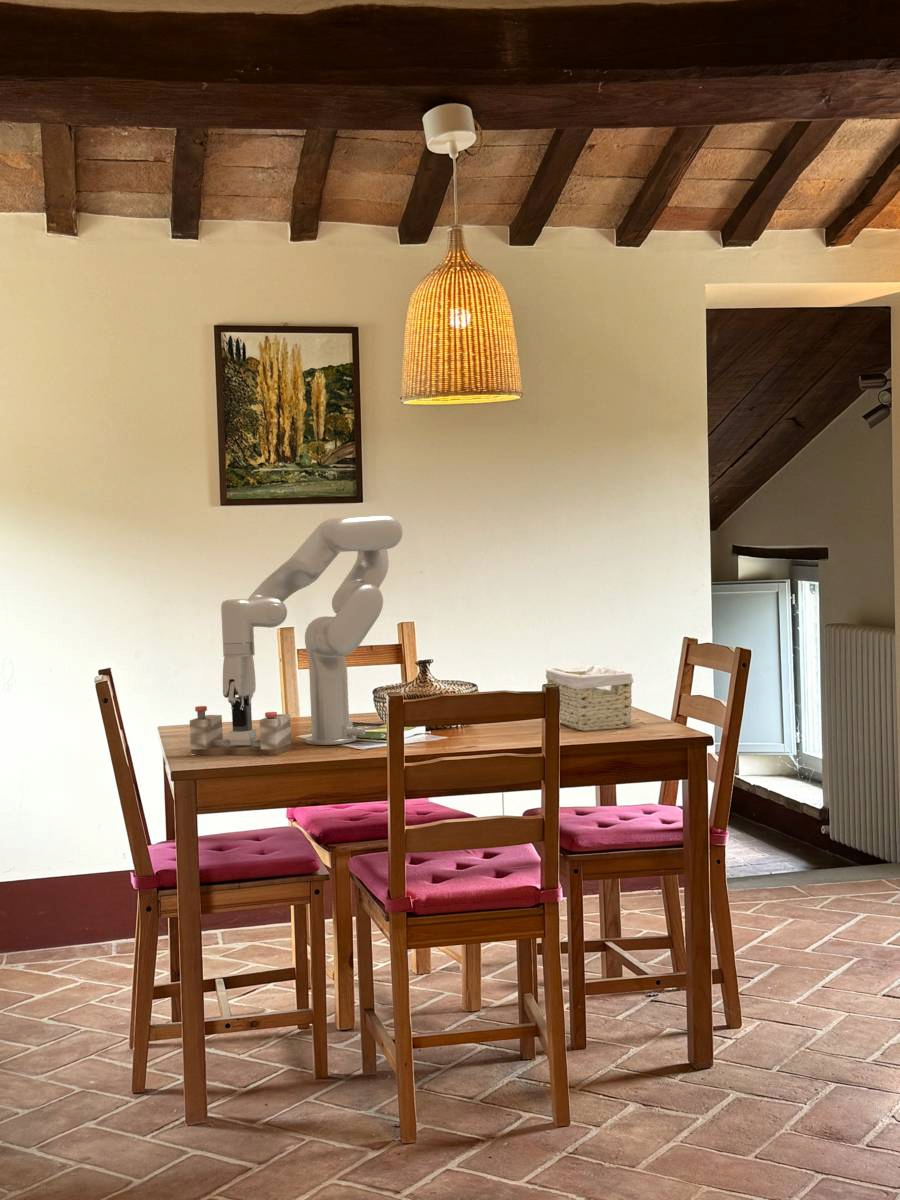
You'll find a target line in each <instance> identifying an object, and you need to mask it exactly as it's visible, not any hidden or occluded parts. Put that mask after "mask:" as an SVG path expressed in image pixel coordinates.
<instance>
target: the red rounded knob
mask: <svg viewBox="0 0 900 1200" xmlns="http://www.w3.org/2000/svg"><path fill="white" fill-rule="evenodd" d="M194 709H195V712H197V713H196V714H197V715H196V716H197V718H198V720H204V719H205V715H206V712H208V707H207V706H206V705H199V706H195V707H194Z"/></svg>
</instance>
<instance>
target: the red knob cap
mask: <svg viewBox="0 0 900 1200" xmlns="http://www.w3.org/2000/svg"><path fill="white" fill-rule="evenodd" d="M277 714H278V713H277V711H267V712H265V713H264V718H266V717H267V719H275V717H277Z"/></svg>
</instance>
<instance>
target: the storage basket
mask: <svg viewBox="0 0 900 1200" xmlns="http://www.w3.org/2000/svg"><path fill="white" fill-rule="evenodd" d="M545 673H546V674H545V679H546V683H547V685H548V684H557V685H558V686H559V688H560V720H561V723H560V724H562V725H565V726H567V727H569V728H570V729H571V728H572V729H576V730H578V731H584V732H588V731H598V730H601V731H602V730H613V729H624V728H629V727H631V725H632V723H631V722H632V715H631V713H632V691H633V690H632V685H633V683H634V679H633V674H632V672H630V671H627V670H624V669H621V668H616V667H611V666H607V665H598V664H591V665H590V664H589V665H574V666H573V665H572V666H557V667H548V668H546V669H545Z"/></svg>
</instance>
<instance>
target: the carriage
mask: <svg viewBox="0 0 900 1200" xmlns="http://www.w3.org/2000/svg"><path fill="white" fill-rule="evenodd" d="M244 710H245V713H246V726H244V727H234V726H233V716H232V715H231V720H232V721H231V722H232V724H231V725H232V730H231V731H229V732H228V739H229V740H230V745H251V741H250V739H256V738H257V729H256V728H253V718H252V715H253V714H252V704H251V705H244Z"/></svg>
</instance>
